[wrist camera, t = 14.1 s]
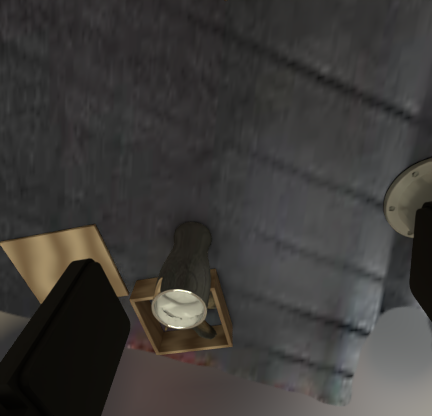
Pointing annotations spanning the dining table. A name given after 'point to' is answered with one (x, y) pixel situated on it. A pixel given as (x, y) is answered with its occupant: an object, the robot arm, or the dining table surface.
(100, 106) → the dining table surface
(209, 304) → the eagle figurine
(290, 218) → the dining table surface
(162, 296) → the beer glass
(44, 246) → the wooden board
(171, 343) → the display tray
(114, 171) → the dining table surface
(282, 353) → the dining table surface
